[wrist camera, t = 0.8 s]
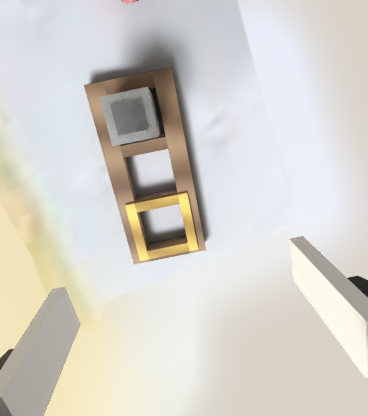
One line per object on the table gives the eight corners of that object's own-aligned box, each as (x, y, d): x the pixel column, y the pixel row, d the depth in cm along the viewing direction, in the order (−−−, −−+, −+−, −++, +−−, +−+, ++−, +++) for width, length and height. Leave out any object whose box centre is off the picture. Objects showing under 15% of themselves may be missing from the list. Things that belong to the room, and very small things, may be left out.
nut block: (116, 102, 34) (98, 96, 26) (152, 94, 34) (147, 86, 25) (125, 139, 36) (111, 146, 27) (160, 132, 36) (158, 137, 27)
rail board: (88, 86, 34) (82, 84, 32) (171, 69, 34) (171, 66, 31) (135, 257, 41) (133, 265, 38) (204, 243, 41) (206, 251, 38)
